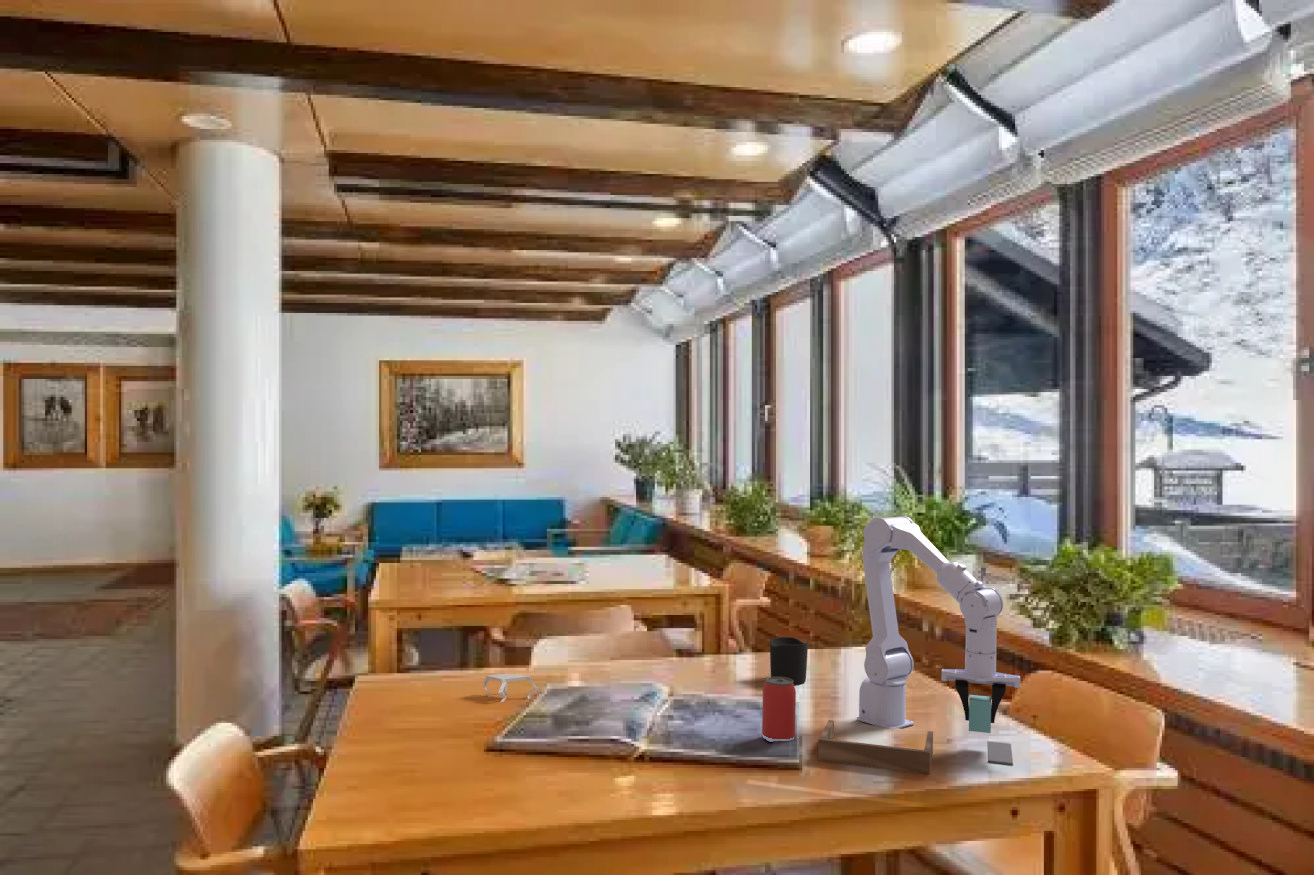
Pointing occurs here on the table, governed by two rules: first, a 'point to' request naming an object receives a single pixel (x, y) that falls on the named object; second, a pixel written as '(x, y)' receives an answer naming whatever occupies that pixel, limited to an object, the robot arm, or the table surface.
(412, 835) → the table surface
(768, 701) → the beer can
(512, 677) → the grey legged piece
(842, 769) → the table surface
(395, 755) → the table surface
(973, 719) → the teal block
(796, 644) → the pen holder
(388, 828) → the table surface
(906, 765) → the walnut box
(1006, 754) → the charcoal mat
